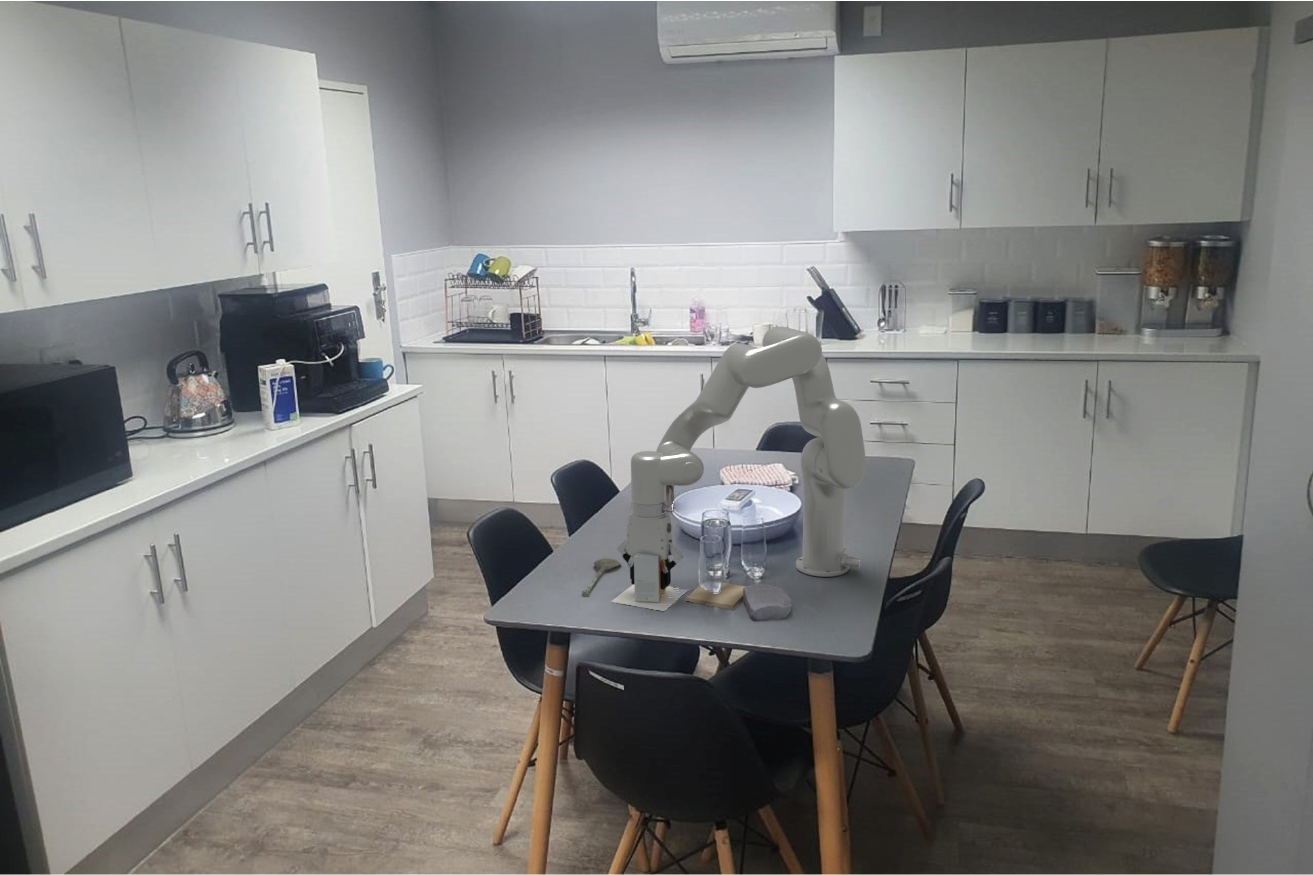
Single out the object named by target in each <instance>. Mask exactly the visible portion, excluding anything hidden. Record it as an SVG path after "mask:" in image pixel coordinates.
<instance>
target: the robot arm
mask: <svg viewBox="0 0 1313 875" xmlns="http://www.w3.org/2000/svg"><path fill="white" fill-rule="evenodd" d="M789 379H791V380H792V382H793V386H794V390H795V398H796V403H797V409H798V416H799V421H800V425H801V427H802V428H803V430H804V431H805V432H807V433H809V434H810V435H812V436H815V438H813V439H810V440H809V441H808V442H807V443H806V444H805V445H804V447H803V449H802V452H801V456H800V467H801V474H802V480H803V517H802V518H803V520H802V556H800V557H799V558H797V560H796V561H795V568H796V569H797V570H798V571H800V572H801V573H803V574H806V575H809V576H813V577H821V578H822V577H823V578H828V577H829V578H831V577H838V576H842V575H844V574H846V573H847V572H848V571H849V570H850V567H853V568H858V569H860V568H861V564H862V560H861V559H859V556H857V555H856V556H855V555H850V554H848V549H847V548H844V541H845V540H844V537H845V508H846V495H845V494H846V493H845V490H850V489H854V488H856V487H857V486H858V485H860V484H861V482H862V480H863V479H864V477H865V474H866V470H867V458H866V451H865V443H864V437H863V429H862V424H861V419H860V417H859V414H858V413H857V411H856V410H855V408H854V407H853V406H852V405H851V404H849V403H848V402H845V401H843V400H840V399H838V398H837V397H836V394H835V389H834V384H833V381H832V376H831V371H830V367H829V364H828V363H827V360H826V358H825V356H824V354H823V348H822V344H821V342H820V340H819V338H817V337H816V336H815V335H813V334H811V333H810V332H805V331H801V330H798V329H795V328H790V327H786V326H774V327H772V328H770V329H768V330H767V331H766V332H765V333H764V335H763V338H762V346H761V347H757V346H753V345H749V344H746V343H745V344H744V343H736V344H735V343H734V344H732V345H730V346H729V347H728V348H727V349H726V350H725V351H724V352H723V353H722V355H721V357H720V358H719V360H718V362H717V364H716V366H715V368H714V369H713V371H712V373H711V374H710V376H709V378H708V379H707V381H706V383H705V385H704V387H703V388H702V390H701V392H700V393H699V395H698V397H696V400H694V401H693V402H692V403H691V404H690V405H689V406H688V407H687V408H686V409H685V410H683V412H681V413H680V414H679V415H678V416H677V417H676V418H675V419H674V420H673V421H672V422H671V424H669V425H670V426H668V428H667V429H666V432H665V433H664V435H663V436H662V439H661V440H660V443H659V444H658V446H657V448H656V449H655V450H656V451H653V450H643V451H639V452H636V453H634V454H633V455H632V456H631V458H630V484H631V486H630V488H631V489H630V490H631V492H630V493H631V511H630V513H629V515H628V520H627V525H626V527H627V528H626V538H625V540H624V541H623V542H622V543H620V544H619V545H618V546H617V547H616V550H617V552H618V553H619V554H620V555H621V556H622V558H623V560H624V561H625V562H626V563H627V566H628V567H629V579H630V580H631V581H630V582H631V585H634V556H635V555H636V553H640V554H648V555H655V556H659V559H660V566H661V568H662V572H661V573H660V584H661V589H662V590H664V589H665V588H667V587H668V586H670V584H671V580H672V579H671V577H672V576H671V575H672V574H671V570H672V569H673V568H674V567H675V566H677V564H678V563H680V562H681V561H682V560H683V559H684V555H683V554H682V553H681V552H680V550H679V549H678V548H677V547H676V546H675V537H674V535H675V534H674V527H673V521H672V517H671V514H670V513H671V510H672V507H671V506H669V505H667V501H666V485H674V486H677V487H684V486H686V487H687V486H691V485H694V484H696V483H698V482H699V481H700V480H701V479H702V478H703V476H704V472H705V466H704V463H703V460H702V459H701V458H700V457H699V456H698V455H697V454H696V453H694V452H693V451H691V450H692V448H693V446H694V445H695V443H696V442H697V440H698V439H699V438H700V437H701V435H703V433H705V432H706V431H707V430H709V429H711V428H714V427H716V426H718V425H721V424H724V423H725V422H728V421H730V419H731V418H732V417H733V415H734V413H735V411H736V410H737V408H738V406H739V404H740V403H741V401H742V399H743V398H744V395H745V394H746V393H747V390H748V389H749V388H753V389H761V388H765V387H766V388H767V387H769V386H772V385H775V384H779V383H781V382H783V381H784V382H785V381H787V380H789ZM670 556H673V559H672V560H671V559H670Z"/></svg>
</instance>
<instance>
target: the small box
mask: <svg viewBox="0 0 1313 875" xmlns="http://www.w3.org/2000/svg"><path fill="white" fill-rule="evenodd" d="M661 572H662V568H661V566H660V559H659V556H655V555H648V554H640V553H636V555H635V556H634V585H635V601H646V602H659V601H660V599H661V597H662V595H663V593H664V591H665V589H666V588H665V589H664V590H662V589H661V584H660V573H661Z"/></svg>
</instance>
